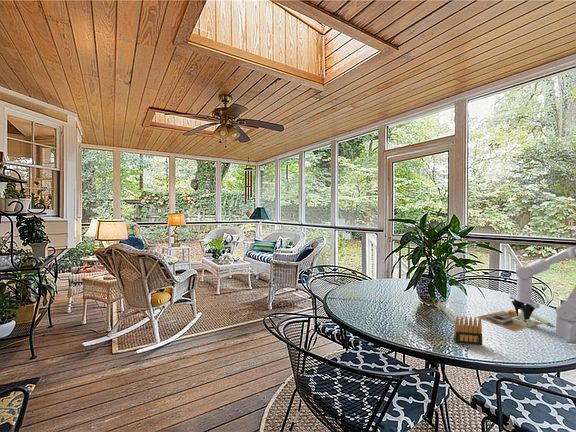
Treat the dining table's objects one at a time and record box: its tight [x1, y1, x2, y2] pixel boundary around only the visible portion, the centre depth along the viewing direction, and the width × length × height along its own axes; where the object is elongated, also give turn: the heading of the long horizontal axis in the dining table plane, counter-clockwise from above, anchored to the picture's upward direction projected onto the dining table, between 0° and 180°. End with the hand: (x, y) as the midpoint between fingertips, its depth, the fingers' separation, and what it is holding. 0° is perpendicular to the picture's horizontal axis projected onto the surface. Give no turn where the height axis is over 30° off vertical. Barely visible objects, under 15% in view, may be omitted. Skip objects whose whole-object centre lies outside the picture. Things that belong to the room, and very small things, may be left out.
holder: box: [476, 310, 544, 333], centre depth 148 cm, size 18×23×3 cm
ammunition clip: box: [453, 315, 483, 346], centre depth 126 cm, size 11×2×12 cm, turn 77°
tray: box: [511, 316, 536, 328], centre depth 144 cm, size 7×7×2 cm
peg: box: [518, 308, 527, 323], centre depth 144 cm, size 4×4×7 cm
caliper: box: [437, 299, 456, 325], centre depth 156 cm, size 20×1×6 cm, turn 174°
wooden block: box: [500, 309, 517, 320], centre depth 150 cm, size 3×10×3 cm, turn 113°
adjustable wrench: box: [530, 312, 554, 328], centre depth 155 cm, size 25×6×2 cm, turn 168°
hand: (523, 317), depth 144 cm, fingers closed on peg, 4 cm apart
